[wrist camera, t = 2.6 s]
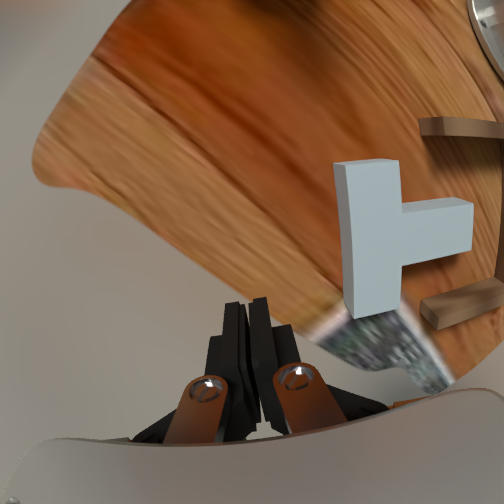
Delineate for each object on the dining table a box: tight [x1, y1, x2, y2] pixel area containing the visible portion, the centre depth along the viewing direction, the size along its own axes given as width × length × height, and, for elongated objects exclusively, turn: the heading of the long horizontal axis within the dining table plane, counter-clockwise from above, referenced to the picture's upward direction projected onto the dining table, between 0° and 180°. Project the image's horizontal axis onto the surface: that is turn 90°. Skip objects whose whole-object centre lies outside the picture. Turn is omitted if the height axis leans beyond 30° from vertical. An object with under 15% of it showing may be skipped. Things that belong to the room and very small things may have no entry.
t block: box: [333, 159, 474, 319], centre depth 18 cm, size 10×10×2 cm
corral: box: [419, 117, 504, 331], centre depth 17 cm, size 11×15×3 cm
